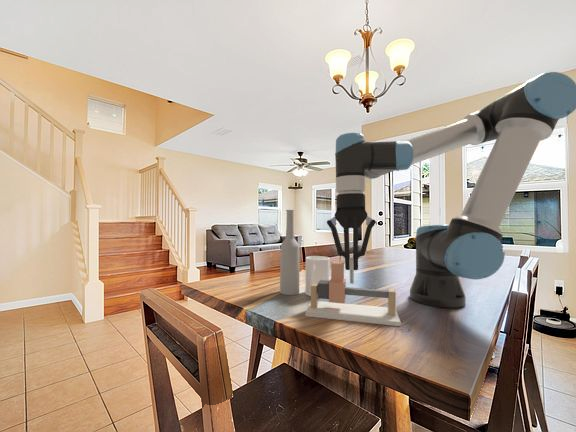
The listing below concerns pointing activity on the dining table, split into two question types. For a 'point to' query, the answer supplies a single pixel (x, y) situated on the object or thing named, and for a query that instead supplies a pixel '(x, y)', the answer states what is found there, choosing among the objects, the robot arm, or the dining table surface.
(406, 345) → the dining table surface
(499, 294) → the dining table surface
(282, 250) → the bottle
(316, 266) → the mug
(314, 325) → the dining table surface
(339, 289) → the sleeve
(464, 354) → the dining table surface
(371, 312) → the rail fixture
